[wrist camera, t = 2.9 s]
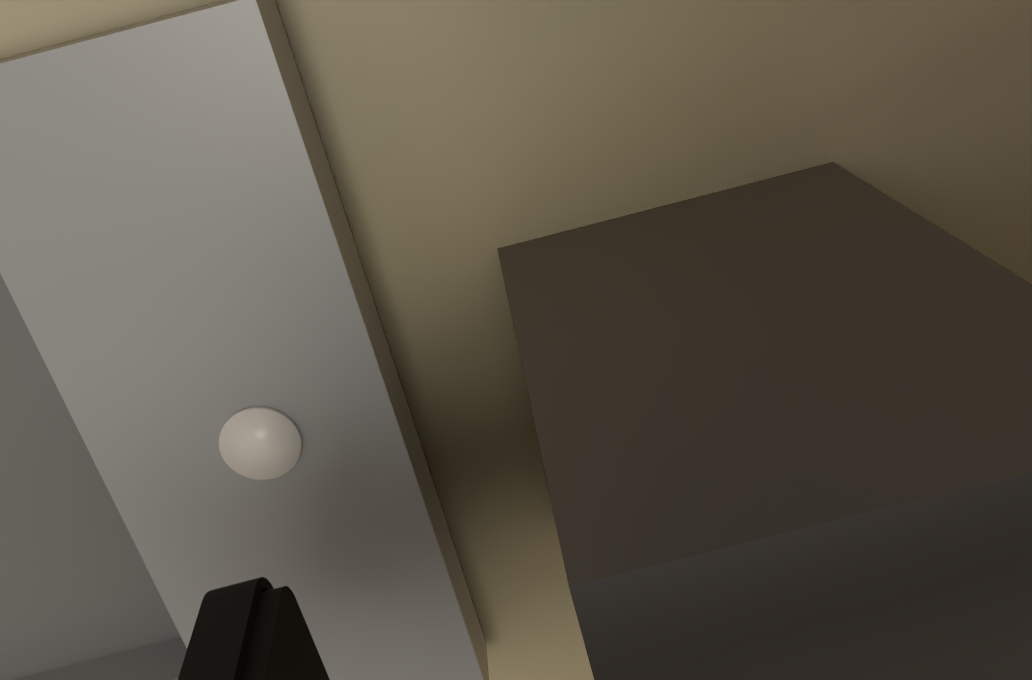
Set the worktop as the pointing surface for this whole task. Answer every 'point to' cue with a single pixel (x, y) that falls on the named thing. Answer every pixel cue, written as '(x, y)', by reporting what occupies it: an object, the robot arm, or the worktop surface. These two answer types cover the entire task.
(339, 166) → the worktop surface
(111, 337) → the outlet plate
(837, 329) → the block
